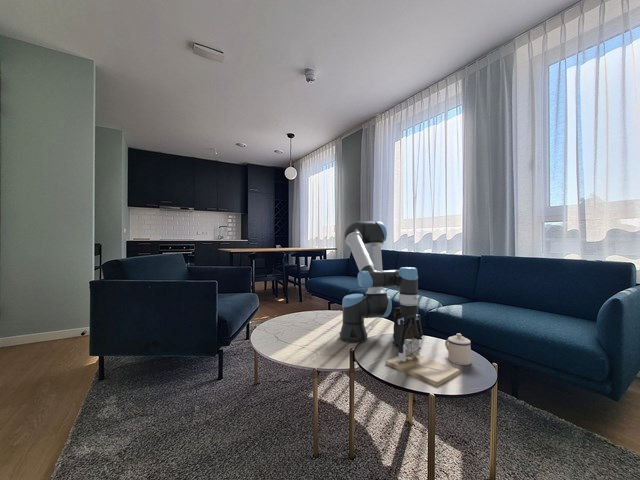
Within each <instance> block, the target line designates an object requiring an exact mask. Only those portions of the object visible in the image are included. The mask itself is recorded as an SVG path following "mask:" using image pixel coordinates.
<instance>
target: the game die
mask: <svg viewBox="0 0 640 480" xmlns="http://www.w3.org/2000/svg"><path fill="white" fill-rule="evenodd" d="M414 339H415V338H414ZM414 339H405V342H404V345H405V356H406V357H415V358H416V359H417V357H416V356H417V353H418V351H419V349H420V350H422V347H420V348H419V347H418V345H417V343H416V342H415V340H414Z"/></svg>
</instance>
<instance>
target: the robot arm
mask: <svg viewBox="0 0 640 480" xmlns="http://www.w3.org/2000/svg"><path fill="white" fill-rule="evenodd" d="M387 231H388V230H387V228H386V225H385V224H384V223H383V222H382V221H376V220H374V221H365V220H364V221H363V220H361V221H360V220H359V221H353V222H351V223H350V224H349V225H347V227H346V228H345V231H344V235H343V236H344V237H343V238H344V241H345V244H346V245H347V246H348V247H349V249H350V251H351V254H352V256H353V258H354V260H355V263H356V266H357V268H358V271H359V272H358V273H357V284H358V286H359V287H360V288H363V289H364V288H367V291H365V296H364V294H363V293H351V294H347V295H345V296H344V297H343V298H342V304H341V306H342V308H341V309H342V325H341V329H340V332H339V340H340V341H343V342H347V343H352V344H354V343H355V344H356V343H357V344H358V343H363V342H362V341H364V342H366V341H368V338H369V337H368V332H367V329H366V326H365V319H374V318H377V319H378V318H380V319H381V318H387V317H388V316H390V314H391V312H392V308H393V307H392V306H393V305H392V302H393V301H392V299H391V297H390V295H388V294H387V291H386V290H385V289H384V288H392V287H393V288H395V287H396V288H399V291H398V293H399V295H398V297H399V300H398V302H399V307H400V313H401V314H402V317H401V319H397V327H396V335H395V343H396V344H398V348H397V349H398V351H397V352H398V356H399V360H401V361H404V362H405V361H406V356H405V345H404V342H405V339H406V335H407V331H408V329H409V328H410V327H411V330H412V333H413V335H414V338H415V339H414V338H413V339H414V340H415V342H416V343H417V345H418V347H419V348H421V347H420V345H421V343H420V342H421V341H422V340H423V336H424V333H423V328H422V323H421V318H422V316H421V314H419V305H418V304H419V296H418V294H419V275H418V268H417V267H411V266H409V267H408V266H405V267H403V266H402V267H400V268H399V269H389V270H383V259H382V258H383V257H382V247H383V246H384V242H385V241H386V240H387V237H388V232H387ZM406 326H407V327H406ZM365 340H366V341H365ZM395 343H394V344H395ZM420 350H421V349H419V351H418V353H417V355H418V356H419V355H420V356H421V354H420V352H421V351H420Z"/></svg>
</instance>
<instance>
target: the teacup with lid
mask: <svg viewBox="0 0 640 480" xmlns="http://www.w3.org/2000/svg"><path fill="white" fill-rule="evenodd" d="M462 335H463V334H461V333H460V332H459V333H456V335H452V336H449V337H448V338H447V339H446V340H445V342H444V344H445V345H444V346H445V349H447V354H448V355H447V356H448V360H449V362H450V363H453V364H455V365H460V366H469V365H470V364H472V353H471V352H472V348H471V345H472V342H471V340H470V339H468V338H467V337H465V336H462Z"/></svg>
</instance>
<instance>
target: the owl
mask: <svg viewBox="0 0 640 480" xmlns="http://www.w3.org/2000/svg"><path fill="white" fill-rule="evenodd" d="M393 312H394V313H393V334H392V338H393V343H394V342H395V335H396V327H397V319H401V317H402V314H401V313H400V306H399V307H395V308H394V311H393ZM406 327H407V326H406ZM413 338H414V335H413V333H412V330H411V327H410V328H409V329H408V331H407V335H406V339H413ZM394 346H396V347H395V348H397V347H398V344H396V343H394Z"/></svg>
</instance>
